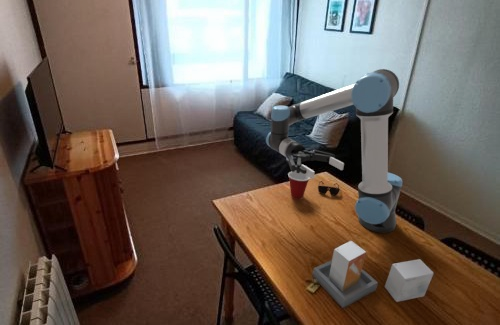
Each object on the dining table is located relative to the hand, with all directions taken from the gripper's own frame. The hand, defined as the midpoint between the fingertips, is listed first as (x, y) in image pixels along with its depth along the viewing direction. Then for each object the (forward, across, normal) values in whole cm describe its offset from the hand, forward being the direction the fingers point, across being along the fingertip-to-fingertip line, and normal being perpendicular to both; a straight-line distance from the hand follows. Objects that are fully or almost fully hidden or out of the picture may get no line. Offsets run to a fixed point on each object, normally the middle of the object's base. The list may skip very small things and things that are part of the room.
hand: (328, 170), depth 105 cm
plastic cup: (-31, -12, -31) cm, 46 cm away
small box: (+20, +7, -30) cm, 37 cm away
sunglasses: (-28, -31, -32) cm, 52 cm away
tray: (+20, +7, -31) cm, 38 cm away
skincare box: (+32, -8, -32) cm, 46 cm away
